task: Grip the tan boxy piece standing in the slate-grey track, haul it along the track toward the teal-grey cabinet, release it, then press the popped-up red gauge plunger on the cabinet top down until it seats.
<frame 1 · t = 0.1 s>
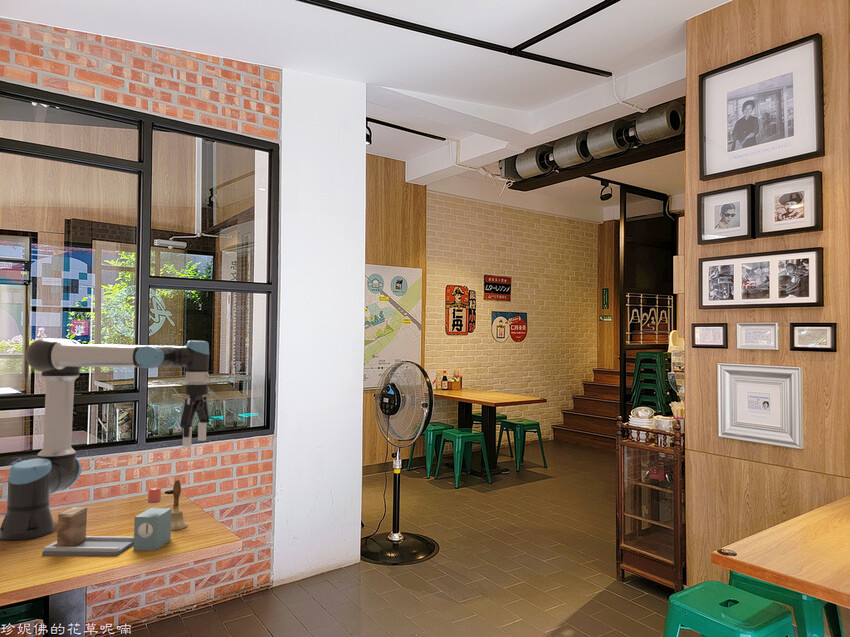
hand: (194, 443, 206), 28 cm above the table, fingers open, 13 cm apart
track: (90, 548, 177), on the table
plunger: (154, 495, 182), point 15 cm above the table, slide at 3.0 cm
tan boxy piece: (72, 527, 178), point 6 cm above the table, slide at 0.0 cm
hand bell: (174, 527, 200), on the table
cabinet: (152, 544, 181), on the table
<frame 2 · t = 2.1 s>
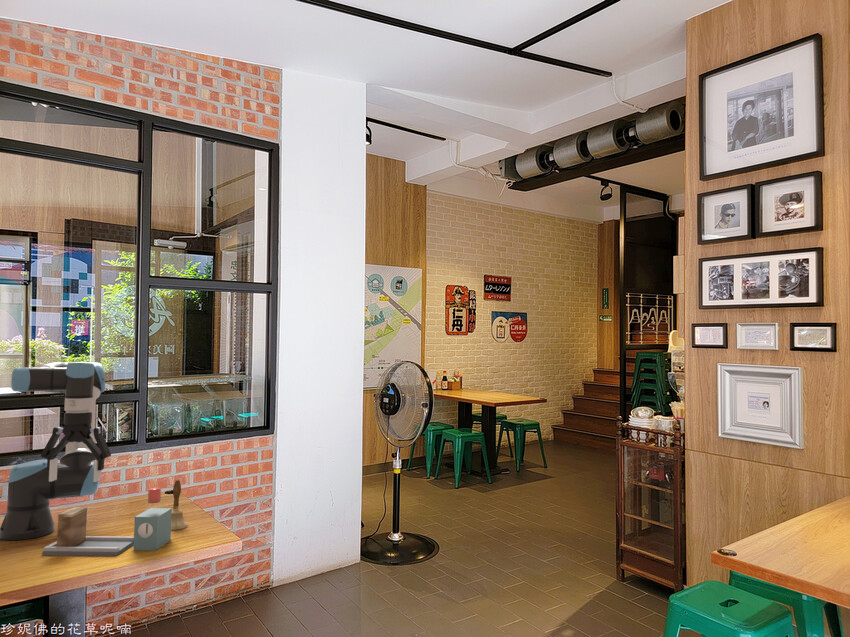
hand: (74, 480, 179), 20 cm above the table, fingers open, 13 cm apart
nothing on the table moved.
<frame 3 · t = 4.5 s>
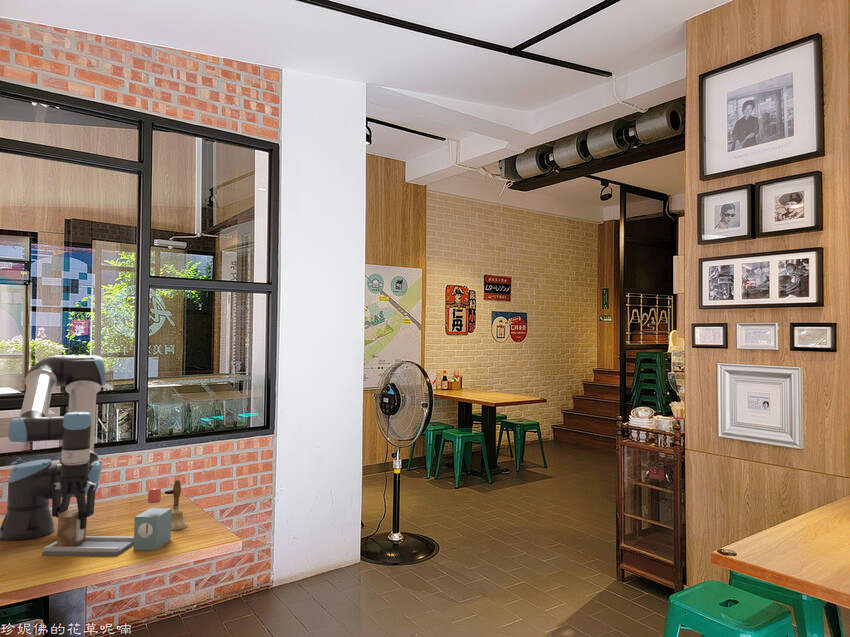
hand: (71, 539, 178), 3 cm above the table, fingers closed on tan boxy piece, 4 cm apart
tan boxy piece: (72, 527, 178), point 6 cm above the table, slide at 0.0 cm, touching gripper
everything else where it was.
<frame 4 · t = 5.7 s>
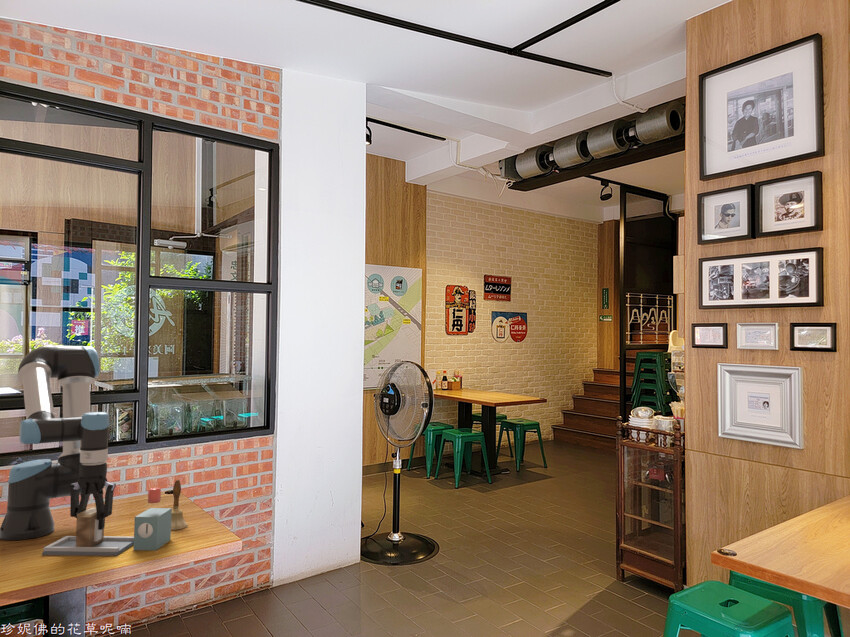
hand: (90, 539, 178), 3 cm above the table, fingers closed on tan boxy piece, 4 cm apart
tan boxy piece: (90, 527, 178), point 6 cm above the table, slide at 5.6 cm, touching gripper
everything else where it was.
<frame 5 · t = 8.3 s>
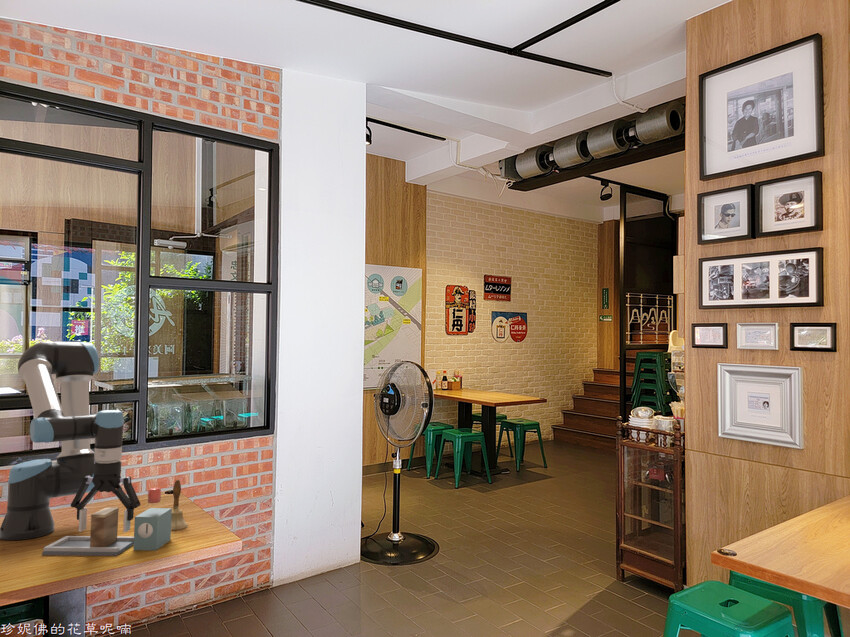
hand: (104, 530, 178), 5 cm above the table, fingers open, 13 cm apart
tan boxy piece: (104, 527, 178), point 6 cm above the table, slide at 9.9 cm
everything else where it was.
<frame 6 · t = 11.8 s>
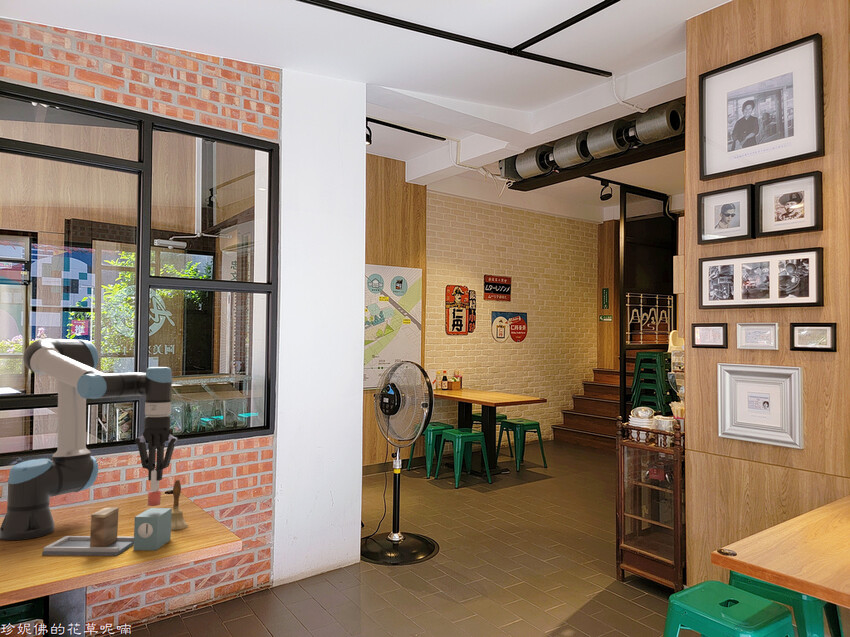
hand: (154, 490, 182), 17 cm above the table, fingers closed
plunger: (154, 498, 182), point 14 cm above the table, slide at 2.2 cm, touching gripper
everything else where it was.
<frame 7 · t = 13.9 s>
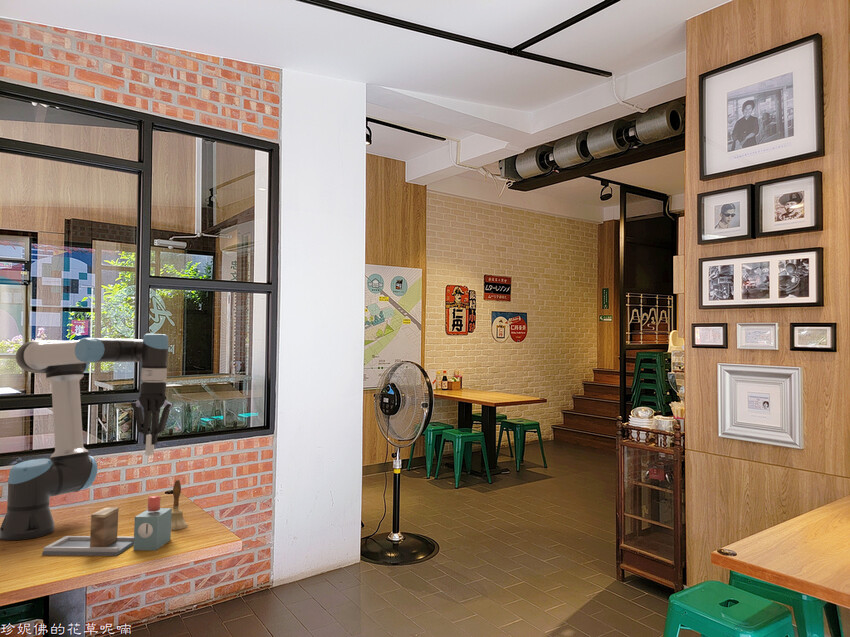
hand: (149, 454, 186), 27 cm above the table, fingers closed
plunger: (154, 503, 182), point 13 cm above the table, slide at 0.5 cm
everything else where it was.
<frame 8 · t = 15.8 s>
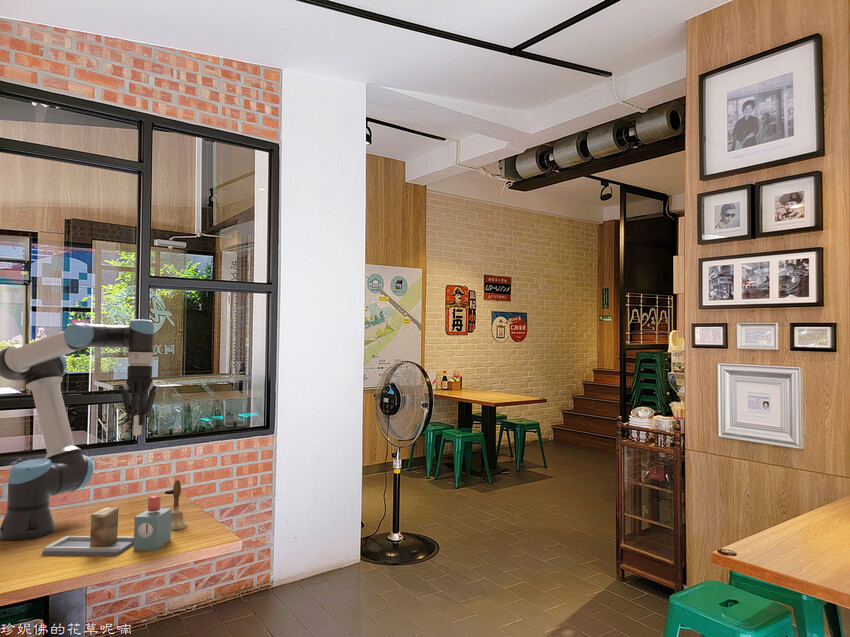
hand: (137, 434, 195), 32 cm above the table, fingers closed
nothing on the table moved.
at the end: tan boxy piece slide at 9.9 cm; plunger slide at 0.5 cm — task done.
